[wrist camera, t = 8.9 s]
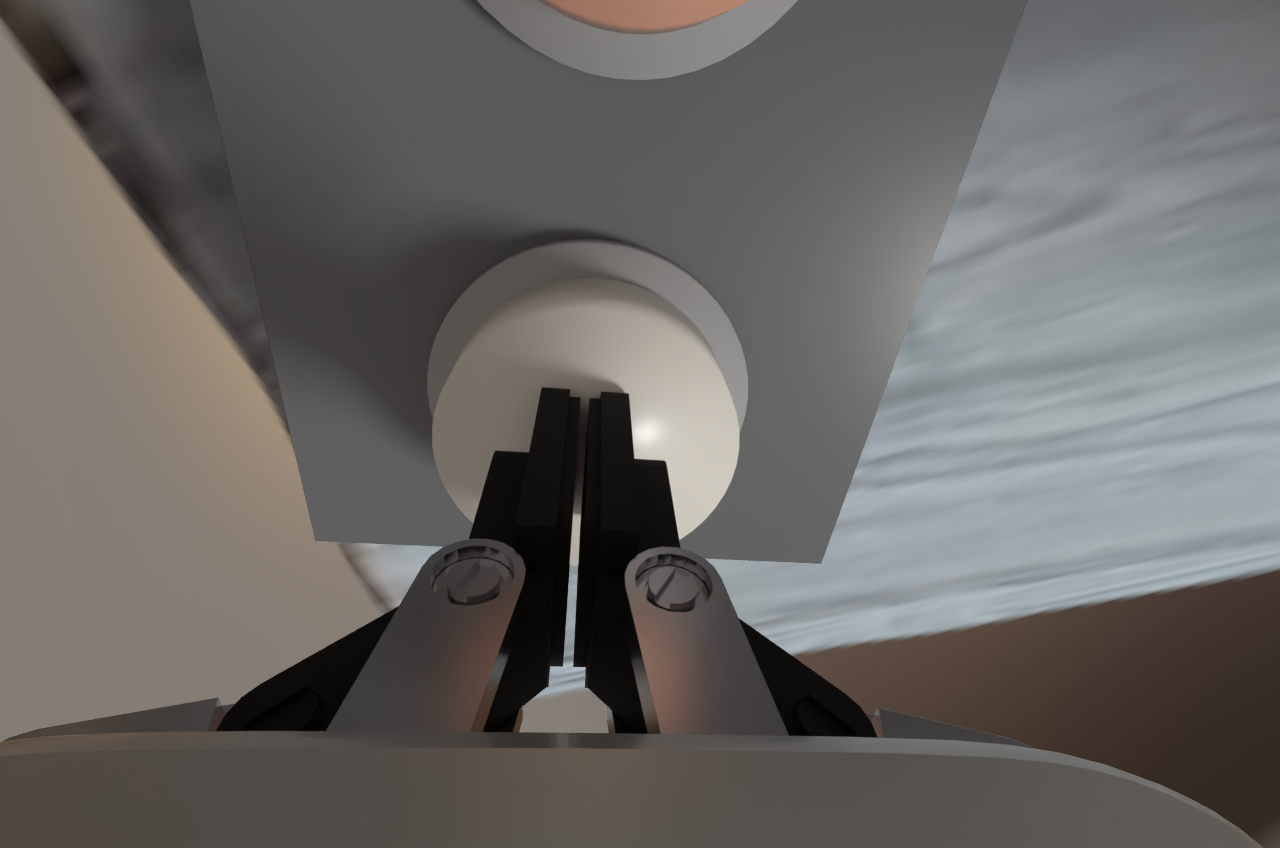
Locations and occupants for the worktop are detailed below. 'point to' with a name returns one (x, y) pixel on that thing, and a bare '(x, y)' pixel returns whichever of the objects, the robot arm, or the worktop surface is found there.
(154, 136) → the worktop surface
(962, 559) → the worktop surface
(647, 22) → the button terracotta
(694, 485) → the button white
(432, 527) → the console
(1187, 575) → the worktop surface
